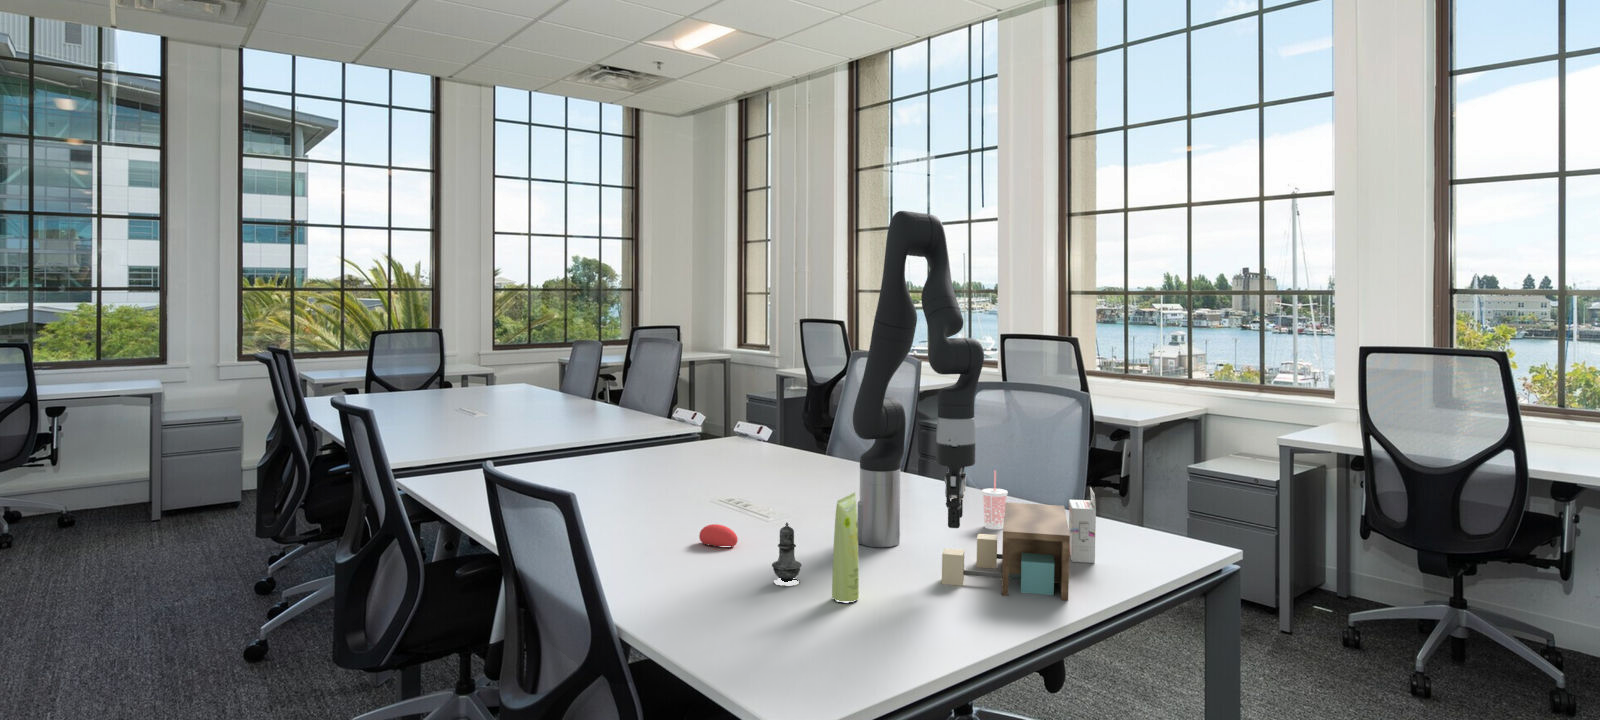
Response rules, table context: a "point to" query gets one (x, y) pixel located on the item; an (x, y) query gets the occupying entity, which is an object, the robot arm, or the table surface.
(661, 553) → the table surface
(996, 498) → the beverage cup
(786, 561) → the salt shaker
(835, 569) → the tube
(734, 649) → the table surface
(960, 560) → the teal and cream dumbbell
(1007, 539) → the walnut shelf
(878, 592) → the table surface
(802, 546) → the table surface
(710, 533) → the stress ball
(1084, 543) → the ink cartridge box
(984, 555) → the beige cube-topped post
